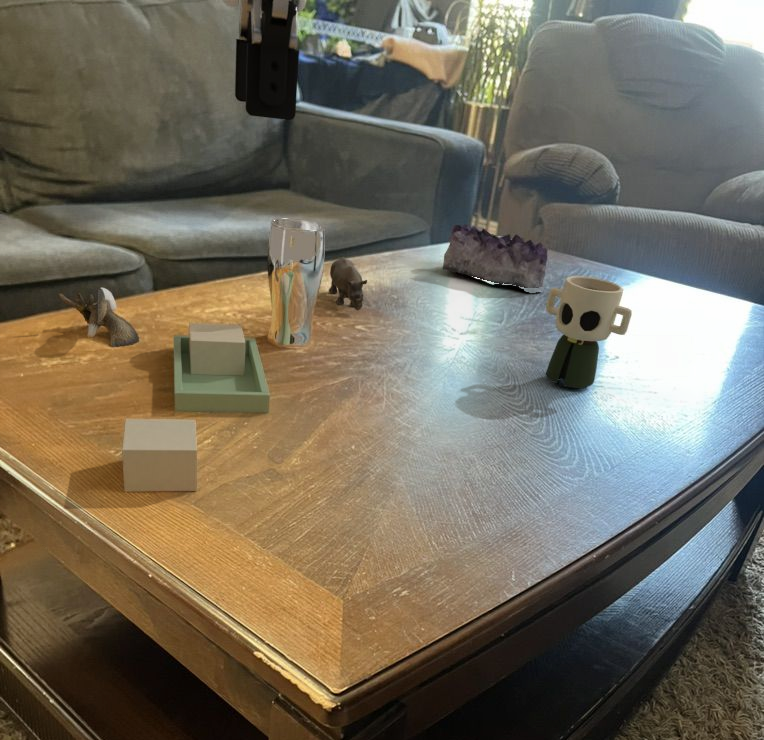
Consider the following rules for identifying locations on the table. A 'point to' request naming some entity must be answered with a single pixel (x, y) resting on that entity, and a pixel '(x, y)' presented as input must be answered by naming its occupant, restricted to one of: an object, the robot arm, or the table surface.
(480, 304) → the table surface
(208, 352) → the beige block
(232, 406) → the frame tray
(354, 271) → the rhino figurine
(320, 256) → the beer glass
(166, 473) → the light grey rectangular block
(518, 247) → the geode
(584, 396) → the table surface
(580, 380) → the character mug
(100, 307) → the deer head bust
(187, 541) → the table surface
